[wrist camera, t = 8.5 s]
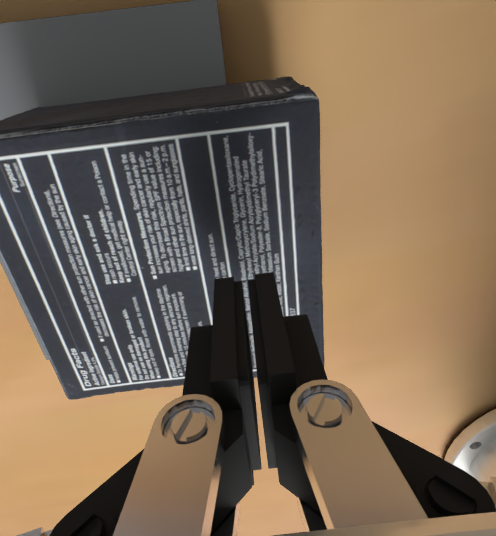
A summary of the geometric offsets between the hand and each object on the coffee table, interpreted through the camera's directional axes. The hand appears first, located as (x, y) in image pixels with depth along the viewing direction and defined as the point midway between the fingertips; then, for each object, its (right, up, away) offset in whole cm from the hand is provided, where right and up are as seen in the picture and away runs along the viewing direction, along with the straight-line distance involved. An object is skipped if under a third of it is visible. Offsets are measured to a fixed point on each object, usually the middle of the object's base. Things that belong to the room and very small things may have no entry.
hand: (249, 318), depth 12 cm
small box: (+3, +3, +5) cm, 6 cm away
